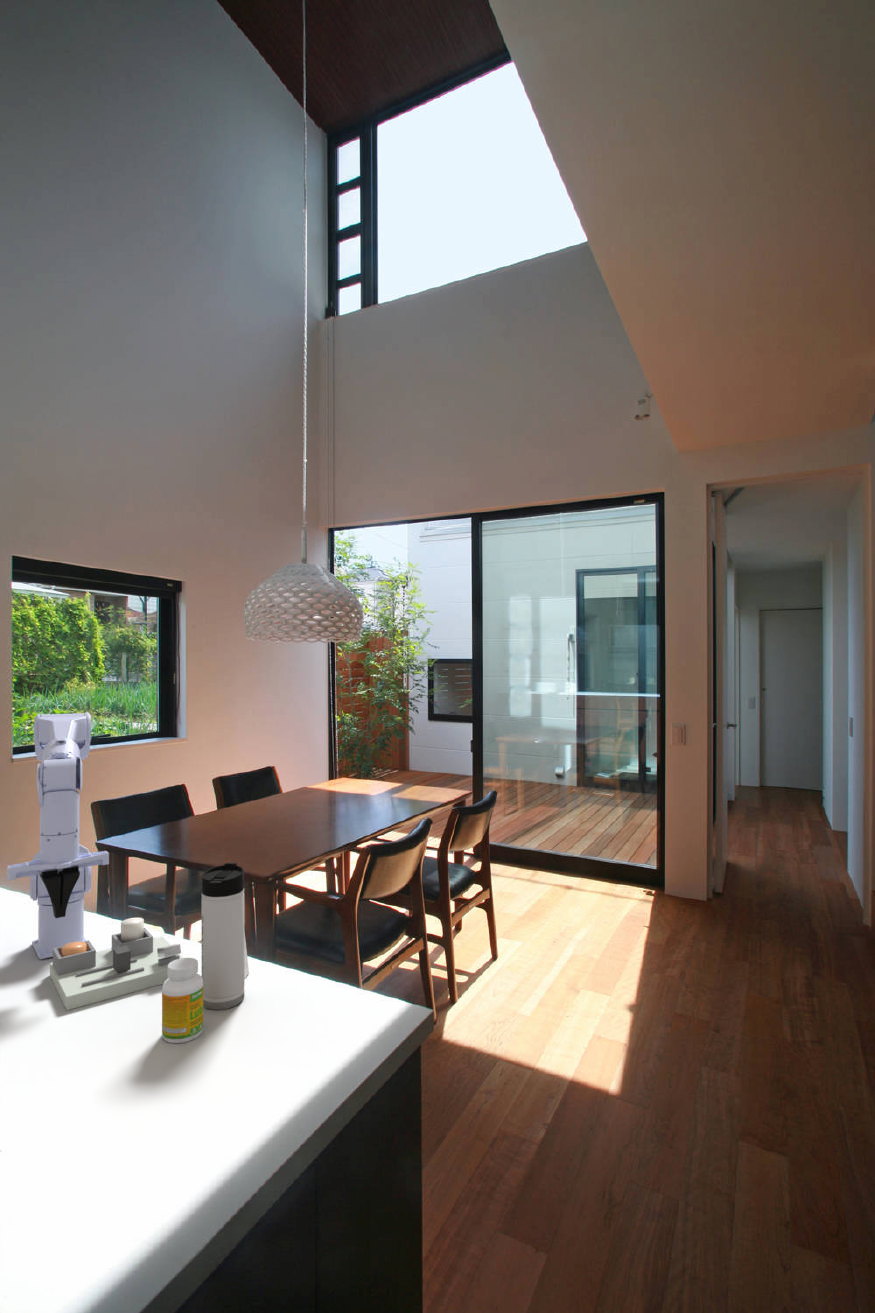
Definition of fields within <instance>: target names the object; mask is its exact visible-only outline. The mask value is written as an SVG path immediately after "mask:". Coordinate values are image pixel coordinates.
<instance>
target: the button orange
mask: <svg viewBox="0 0 875 1313" xmlns="http://www.w3.org/2000/svg"><path fill="white" fill-rule="evenodd" d="M82 952H86V942H82V941H79V942H72V943H68V944H66V945H64V946H63V947H62V957H65V956H69V955H74V954H78V953H82Z"/></svg>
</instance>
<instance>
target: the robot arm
mask: <svg viewBox="0 0 875 1313" xmlns="http://www.w3.org/2000/svg"><path fill="white" fill-rule="evenodd" d="M91 741H92V715H91V714H90V713H89V712H88V711H87V712H84V713H83V712H82V713H81V712H80V713H79V712H78V713H52V714H51V713H50V714H49V713H47V714H41V713H37V714H36V716H34V719H33V744H34V753H35V755H36V760H37V761H39V762H41V763H38V764H37V766H36V789H37V790H36V791H37V795H38V807H39V808H40V809H39V851H38V852H37V853H35V854H34V855H33V858H31V861H26V862H22V863H17V864H16V863H15V864H11V865H7V866H6V878H7V880H8V881H15V880H17V879H21V878H27V877H29V898H30V899H31V900H32V901H37V906H38V910H37V912H38V913H37V914H38V915H37V916H38V917H37V919H38V921H37V922H38V923H37V925H38V927H37V928H38V930H37V931H38V932H37V934H38V937H37V938H38V939H34V940H32V941H31V944H32V946H33V948H34V951H35V953H36V955H37V958H38V959H39V960H45V959H48V958H53V948H57V947H61V946H64V945H66V944H68V943H72V942H79V941H82V942H83V941H87V939H86V937H85V936H84V931H85V930H84V928H85V927H84V926H85V924H84V922H85V918H84V917H85V916H84V911H85V910H84V908H85V907H84V905H85V904H84V900H85V894H89V893H90V892H91V890H92V883H93V882H92V881H93V880H92V877H93V876H92V870H93V869H92V867H94V866H100V865H101V866H106V865H109V864H110V853H109V852H108V851H107V850H103V851H94V852H90V849H88V848H87V847H86V846H84V845H82V844H80V793H81V792H82V789H83V762H82V761H84V760H85V759H87V758H88V757H89V753H90V751H91ZM78 790H79V791H78Z"/></svg>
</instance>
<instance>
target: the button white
mask: <svg viewBox="0 0 875 1313" xmlns="http://www.w3.org/2000/svg"><path fill="white" fill-rule="evenodd" d="M144 924H145V920H144V918H143V917H129V918H126V919H124V920H122V921H121V922H120V933H121V942H123V943H125V942H129V941H133V940H137V939H141V938H144V928H145V925H144Z"/></svg>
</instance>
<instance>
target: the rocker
mask: <svg viewBox="0 0 875 1313" xmlns="http://www.w3.org/2000/svg"><path fill="white" fill-rule="evenodd" d="M181 949H182V948H181V944H179V943H178V944H176V943H175V944H170V945H169V946H165V947H161V948H157V953H158V957H168V956H172V955H176V954H180V955H181V953H182V950H181Z"/></svg>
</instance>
